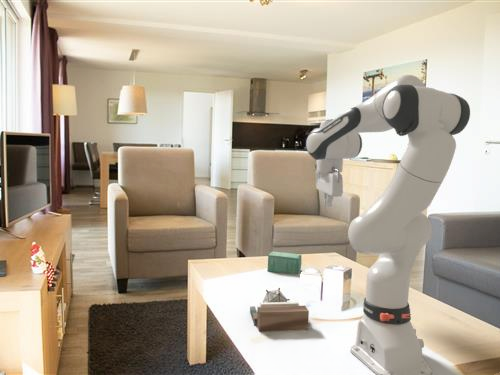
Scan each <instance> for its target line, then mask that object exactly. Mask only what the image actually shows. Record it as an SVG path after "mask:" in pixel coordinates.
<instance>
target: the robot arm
mask: <svg viewBox="0 0 500 375" xmlns="http://www.w3.org/2000/svg"><path fill="white" fill-rule="evenodd" d="M470 117H471V108H470V104H469V102H468V101H467V100H466V99H464V98H463V97H462V96H459V95H457V94H455V93H449V92H445V91H442V90H438V89H435V88H432V87H429V86H427V87H426V85H425V84H424V82H423V81H422V79H421V78H419V77H417V76H415V75H412V74H404V75H401V76H399V77H397V78H396V79H393V80H392V81H390V82H388V83H387V84H386V85H384V86H383V87H382V88H380V90H378V91H377V92H375V94H373V95H372V96H371V97H369V98H368V99H366V100H364V101H362V102H361V103H359V104H357V105H356V106H353V107H351V108H349V109H347V110H345V111H344V112H342V113H340V114H339V115H338V116H336V117H335V118H333V119H324V120H323V121H322V122H320V125H319V127H316V128H313V129H312V130H311V131H310V133H309V134H308V135H307V137H306V140H305V141H306V142H305V148H306V150H307V153H308V154H309V155H310V156H311V158H313V159H314V160H316V163H315V164H314V170H315V187H316V190H317V191H319V192H321V193H323V200H324V205H323V206H326V207H327V208H329V207H332V206H333V200H334V198H335V197H336V198H337V197H342V196H343V193H344V192H343V190H344V181H343V175H342V172H343V169H344V168H343V166H344V159H345V160H347V159H348V160H349V159H354V158H357V157H358V156H359V154H360V153H361V151H362V147H363V139H362V135H360V134H361V133H362V134H363V133H384V132H388V131H391V130H393V129H394V131H395V133H396V134H397V135H398V136H400V137H405V136H407V137H408V138H407V139H408V144H407V147H406V149H405V152H404V154H403V156H402V158H401V160H400V161H399V164H398V166H397V168H396V170H395V172H394V174H393V176H392V178H391V179H390V182H389V183H388V185H387V187H386V188H385V189H384V191H383V192H382V194H381V195H380V196H379V197H378V198H377V199H376V201H374V202H373V204H371V206H369V208H368V209H367V210H365V212H363V213H362V214H360V215H359V216H357V217H355V218H354V219H352V220H351V222H350V224H349V226H348V230H347V231H348V232H347V237H348V240H349V243H350V246H351V247H352V248H353V249H354V251H356V252H357V253H359V254H361V255H363V254H364V255H372V256H378V257H377V259H376V261H375V262H374V263H373V264H372V265H371V266H370V267H369V269H368V270H367V273H366V285H365V286H366V288H365V289H366V291H365V297H364V298H363V304H362V306H363V310H362V311H363V313H364V314H362V317H361V318H360V319H359V321H358V322H357V327H356V328H357V329H356V337H355V344H354V345H352V346H351V347H350V353H351V354H353V355H354V356H355V357H356V358H357V359H359V360H360V362H362V363H363V364H364V365H365V366H366V367H367V368H369V369H370V370H371V371H372V372H373V373H374V374H376V375H432V369H431V368H430V366H429V364H428V363H427V361H426V360H425V358H424V357H423V348H424V346H425V344H424V343H425V341H424V340H423V339H422V338H418V335H417V330H416V328H414V327H413V325H412V322H411V319H412V317H411V315H412V314H411V313H412V312H411V309H410V308H411V307H410V304H409V295H410V294H409V293H410V283H411V277H412V276H411V275H412V272H413V268H414V266H415V263H416V261H417V260H418V256H419V255H420V252H421V251H422V249H423V247H425V246H426V244H427V243H428V242H430V240H431V238H432V235H433V226H432V222H431V221H430V219H429V218H428V216H427V215H426V214H424V213H423V212H424V211H425V210H426V209H428V208H429V207H430V206H431V204H432V201H433V200H434V198H435V196H436V194H437V192H438V191H439V189H440V187H441V185H442V184H443V182H444V180H445V178H446V176H447V174H448V171H449V169H450V167H451V165H452V162H453V159H454V157H455V156H454V155H455V153H456V152H455V151H456V148H457V142H456V139H455V137H454V135H455V136H456V135H458V134H460V133H461V132H463V131H464V130H465V128H466V127H467V125H468V123H469V121H470Z"/></svg>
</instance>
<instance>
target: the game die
mask: <svg viewBox="0 0 500 375" xmlns="http://www.w3.org/2000/svg"><path fill="white" fill-rule="evenodd" d="M265 292H266V294H265V296H264V299H263V300H262V303H266V302H288V301H290V299H289V298H286V296H285V295H284V294H283V293H282V292H281V288H280V287H279V288H278V289H275V290H269V291H268V290H267V289H265Z"/></svg>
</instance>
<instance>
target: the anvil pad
mask: <svg viewBox="0 0 500 375" xmlns="http://www.w3.org/2000/svg"><path fill="white" fill-rule="evenodd" d="M299 303H300V302H298V301H287V302H266V303H263V302H260V303H259V307H271V306H300V305H299Z"/></svg>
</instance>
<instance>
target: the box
mask: <svg viewBox="0 0 500 375" xmlns="http://www.w3.org/2000/svg"><path fill="white" fill-rule="evenodd" d="M301 268H302V254H299V253H291V252H282V251H281V252H279V251H271V252H270V253H269V254H268V256H267V272H274V273H282V274H289V275H290V274H291V275H299V273H300V272H301Z"/></svg>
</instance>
